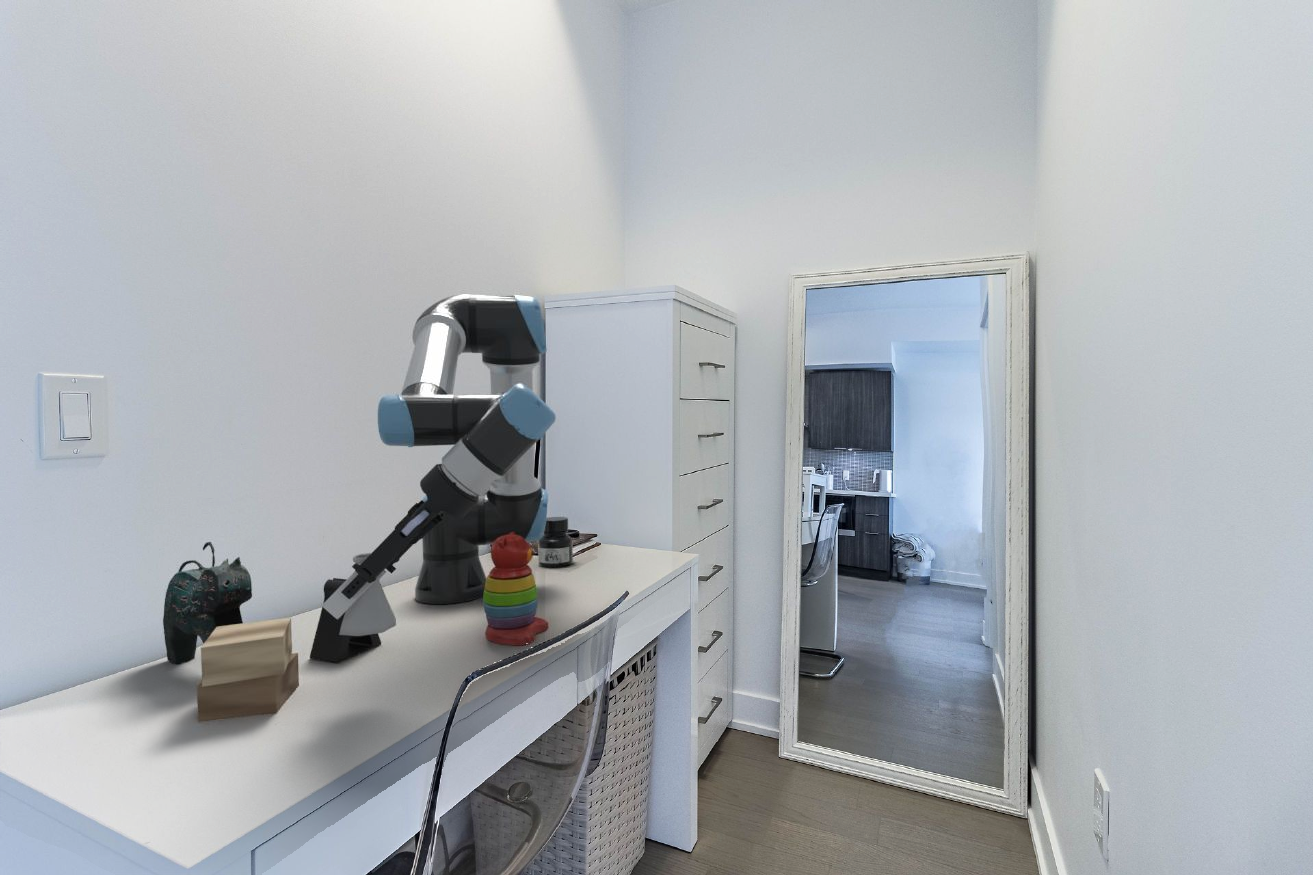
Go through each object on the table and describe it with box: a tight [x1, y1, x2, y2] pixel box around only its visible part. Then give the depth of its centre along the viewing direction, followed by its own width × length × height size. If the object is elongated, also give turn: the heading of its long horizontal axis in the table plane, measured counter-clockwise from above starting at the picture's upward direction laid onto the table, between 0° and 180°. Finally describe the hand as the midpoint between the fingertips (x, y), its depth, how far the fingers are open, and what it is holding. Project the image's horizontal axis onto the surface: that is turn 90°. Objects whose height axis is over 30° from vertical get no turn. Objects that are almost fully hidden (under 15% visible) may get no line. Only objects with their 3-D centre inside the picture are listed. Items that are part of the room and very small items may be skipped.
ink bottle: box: [537, 516, 574, 568], centre depth 165 cm, size 10×9×12 cm
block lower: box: [196, 652, 300, 723], centre depth 85 cm, size 9×9×5 cm
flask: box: [339, 552, 397, 636], centre depth 85 cm, size 7×7×10 cm
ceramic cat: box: [162, 541, 253, 665], centre depth 97 cm, size 20×6×20 cm, turn 59°
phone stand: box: [309, 577, 382, 664], centre depth 104 cm, size 9×6×12 cm, turn 158°
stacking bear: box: [482, 532, 549, 646], centre depth 111 cm, size 11×10×18 cm
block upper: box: [200, 616, 293, 687], centre depth 85 cm, size 9×9×5 cm
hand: (338, 605), depth 84 cm, fingers closed on flask, 4 cm apart
